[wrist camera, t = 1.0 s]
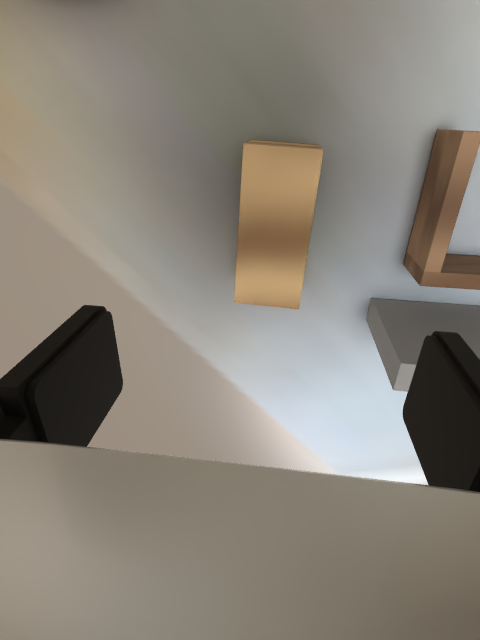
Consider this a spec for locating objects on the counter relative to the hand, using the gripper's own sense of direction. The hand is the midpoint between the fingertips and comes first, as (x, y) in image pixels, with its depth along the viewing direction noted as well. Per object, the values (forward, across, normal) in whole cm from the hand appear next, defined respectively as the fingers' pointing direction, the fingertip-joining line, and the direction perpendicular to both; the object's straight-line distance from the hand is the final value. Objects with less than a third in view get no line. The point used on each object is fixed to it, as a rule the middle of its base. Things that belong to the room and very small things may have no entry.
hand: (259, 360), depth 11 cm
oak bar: (+19, 0, 0) cm, 19 cm away
